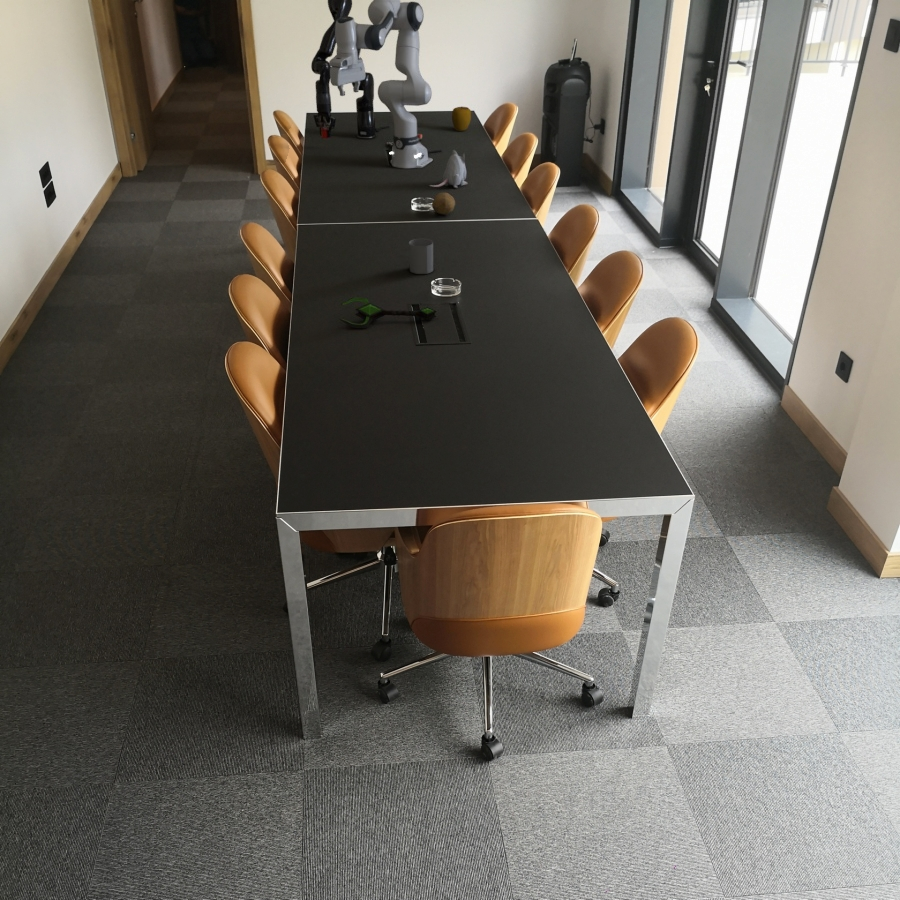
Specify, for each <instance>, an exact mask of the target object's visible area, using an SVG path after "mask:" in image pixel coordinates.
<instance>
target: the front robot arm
mask: <svg viewBox="0 0 900 900" xmlns="http://www.w3.org/2000/svg"><path fill="white" fill-rule="evenodd" d="M424 14H425V13H424V10H423V7H422V6H421V3H419V2H417V1H404V2H401V0H372V1H371V2H370V4H369V5H368V8H367V16H368V19H369V21H370V22H371V23H370V24H369V23H357V22H356V21H355V19H354V17H353V16H350V15H348V16H345V17H340V18H338V19H337V21H336V28H335V36H336V50H335V51H336V55H335V56H334V57H332V58H331V59H329V61H328V62H329V65H330V66H331V68H330V84H331V86H334V87H336V88H337V90H338V92H339V96H340V97H345V96H346V90H344V85H348V84H352V83H353V82H354V83H355V86H354V87H353V88H352V90H353V91H352V92H353V93H359V91H360V90H359V89H358V88H359V85H360V80H364V79H365V72H366V68H365V64H364V60H363V58H362V57H361V56H359V57H358V55H357V48H359V49H361V50H370V51H376V52H377V51H380V50H381V49H382V48H383V46H384V45H385V42H386V39H387V37H388V36H389V34H390V33H391V31H398V32H397V33H398V34H397V39H396V45H395V57H394V59H395V60H394V66H395V69H396V70H397V71H398V72H399V73H401V74H402V75H405V76H406V79H389V80H383V81H381V82H380V84H378V87H377V97H378V99H379V101H380V102H381V103H382V104H383V105H384V106H386V108H387V109H388V110H389V112H390V115H391V117H392V122H393V133H394V134H393V138H392V140H393V145H392V148H391V150H392V151H390V152H389V155H391V160H390V161H389V162H390V164H391V166H392V167H394V168H398V169H416V168H417V169H421V168H424V167H426V166H427V165H428V164H430V163H432V162H433V158H431V157H429V154H431V153H441V152H442V149H436V150H428V149H427V146H424V145H423V144H422V143H421V142H420V140H421V139H422V138H423V134H422V133H418V120H417V118H416V116H415V115H414V114H413V113H411V112H409V111H408V110H407V109H406V107H405V106H416V107H417V106H424V105H427V104H429V103H430V101H431V99H432V96H433V91H432V88H431V85H430V84H429V83H428V82H427V81H426V80H425V79H424V78H423V76H422V74H421V71H420V47H421V45H420V44H421V43H420V42H421V41H420V33H419V30H420V28H421V26H422V24H423V21H424V17H425V16H424Z"/></svg>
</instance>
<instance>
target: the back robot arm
mask: <svg viewBox="0 0 900 900" xmlns="http://www.w3.org/2000/svg"><path fill="white" fill-rule="evenodd" d="M327 6H328V10H329V12H330V14H331V17H332V19H333V22H332V23H331V24H330V25H329V27H328V28H327V29H326V31H325V32H324V34H323V36H322V38H321V41H320V44H319V47H318V50H317V52H316V53H315V55H314V57H313V58H312V60H311V64H310V67H311V71H312V72H313V73H314V74H315V75H319V79H317V80H315V104H316V112H317V114H314V115H313V118H314V123H315V127H316V128H319V135H320V137H322V133H321V128H327V137H328V138H327V139H330V138H332V136H333V135H332V134H333V133H332V130H335V127H336V121H337V117H336V116H332V98H331V91H330V88H331V87H330V83H331V80H330V68H331V67H332V66H330V65H329V61H328V58H331V57H332V56H333V55H334V51H335V48H336V46H337V43H336V36H335V28H336V21H337V19H338V18H340V17H345V16H350V13H351V11H352V7H353V0H327ZM361 52H362V49H359V48H357V55H358V57H360V56H361ZM351 85H352V87H353V88H354V86H355V83H354V82H353V83H351ZM358 89H359V91H362V92H363V94H362V96H358V97H356V99H355V106H356V107H355V109H356V125H357V127H356V129H357V138H358V139H361V140H362V139H363V140H369V139H370V140H371V139H374V138H376V132H377V133H378V132H379V130H383V129H389V128H390V125H387V126H380V127H378V128H376V118H375V112H374V109H375V108H374V100H375V79H374V76H373V74H372V73H371V72H367V71H365V79H364V80H360V85H359V88H358Z"/></svg>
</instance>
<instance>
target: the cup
mask: <svg viewBox="0 0 900 900" xmlns="http://www.w3.org/2000/svg"><path fill="white" fill-rule="evenodd" d="M408 253H409V272H411V273H412V274H416V275H426V274H430V273H432V272H434V241H433V240H431V239H428V238H422V237H421V238H420V237H419V238H414V239H411V240H410V241H409V242H408Z"/></svg>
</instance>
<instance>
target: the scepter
mask: <svg viewBox="0 0 900 900" xmlns="http://www.w3.org/2000/svg"><path fill="white" fill-rule="evenodd" d="M352 302H363V303H365V304H364V305H362V306H359V307H357V308H355V311H357V313H355V316H357V317H359V318H360V319H363V320H364V322H363V323H353V322H351V321H349V320H347V319H343V318H339V320H340V321H341V322H342V323H344V324H346V325H347V326H349V327H351V328H357V329H365V328H366V329H367V328H368V327H369V326H370V325H371V323H372V322H374V321H376V320H378V319H381V318H384V317H385V316H394V317H395V316H398V317H400V316H405V317H410V316H411V317H419V318H420V319H423V320H426V321H429V320H432V319H434V318H437V315H436V313H437V312H438V311H437V310H436V309H433V308H431V307H428V306H427V307H424V308H421V309H419V310H401V309H400V310H394V309H390V310H388V309H387V310H386V309H384V308H382V307H381V306H379V305H377V304H374V303H372V302H371V300H370V299H369V298H368V297H366V296H360V297H359V296H357V297H350V298H349V299H347V300H345V301H343V302H342V303H340V305H341V306H343V305H347V304H349V303H352Z"/></svg>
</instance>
